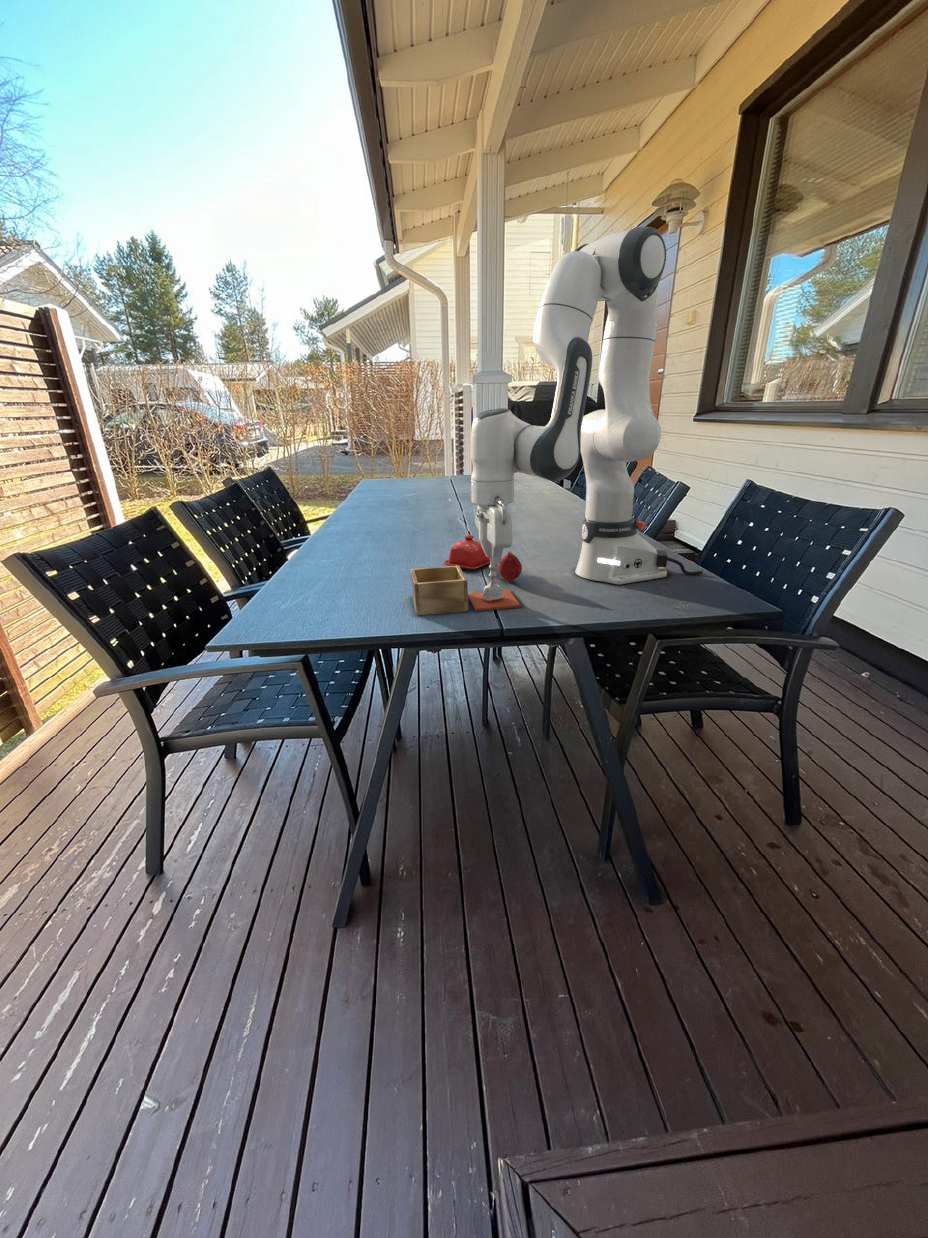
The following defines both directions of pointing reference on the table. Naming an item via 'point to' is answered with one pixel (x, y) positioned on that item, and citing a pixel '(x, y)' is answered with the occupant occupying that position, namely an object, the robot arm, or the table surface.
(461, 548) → the butter dish
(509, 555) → the onion
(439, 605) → the open wooden box
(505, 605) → the coaster
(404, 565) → the table surface
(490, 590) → the chalice
